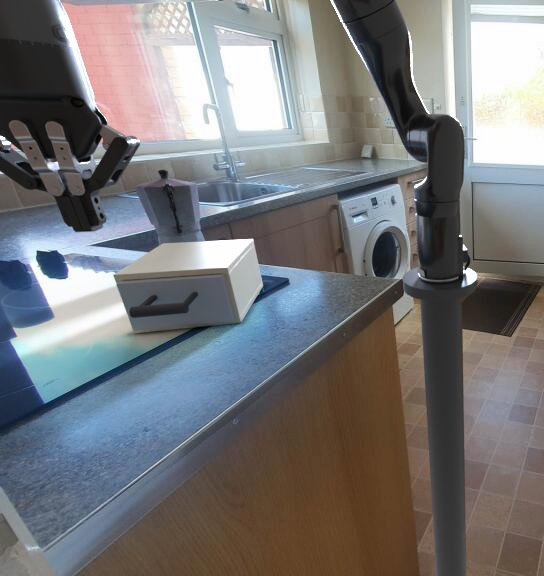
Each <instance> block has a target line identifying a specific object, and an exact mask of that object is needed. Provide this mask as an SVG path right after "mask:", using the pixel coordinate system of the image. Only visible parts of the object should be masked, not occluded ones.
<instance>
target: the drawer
mask: <svg viewBox="0 0 544 576" xmlns="http://www.w3.org/2000/svg"><path fill="white" fill-rule="evenodd" d="M115 285H116V288H117V290H118V293H119V296H120V298H121V301H122V304H123V307H124V309H125V313H126V315H127V317H128V321H129V323H130V326H131V328H132V331H133V332H134V331H137V330H148V329H158V328H168V327H178V326H188V325H198V324H208V323H218V322H228V321H233V320H234V319H235V315H234V311H233V307H232V303H231V299H230V295H229V292H228V288H227V284H226V280H225V276H224V274H222V273H221V274H206V275H192V276H177V277H163V278H148V279H133V280H128V281H120V282H118V283H117V284H116V283H115Z"/></svg>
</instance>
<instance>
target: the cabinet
mask: <svg viewBox="0 0 544 576" xmlns="http://www.w3.org/2000/svg"><path fill="white" fill-rule="evenodd" d="M221 273H222V274H224V276H225V280H226V284H227V288H228V292H229V295H230V299H231V303H232V307H233V311H234V315H235V319H234V320H233V321H228V322H218V323H208V324H198V325H188V326H178V327H168V328H158V329H148V330H137V331H133V333H134V334H140V333H141V334H142V333H152V332H161V331H162V332H163V331H171V330H180V329H190V328H200V327H201V328H202V327H210V326H220V325H229V324H230V325H232V324H241V323H242V322H243V320H244V319H245V317H246V315H247V314H248V312H249V310H250V309H251V307H252V305H253V304H254V302H255V300H256V298H257V297H258V295H259V294H260V292H261V290H262V289H263V287H264V282H263V279H262V272H261V269H260V265H259V260H258V256H257V250H256V245H255V242H254V239H253V238H248V239H247V238H246V239H229V240H228V239H227V240H207V241H206V240H205V241H203V242H182V243H163V244H161V245H160V246H159V245H157V246H156V247H155V248H152V250H150V251H149V252H147V253H145V254H144V255H142V256H141V257H139V258H137V259H136V260H134V261H133V262H131V263H130V264H128V265H126V266H125V267H123V268H122V269H120V270H118V271H117V272H115V273H114V274H113V275H112V276H113V278H114V281H115V285H116V284H117V283H118V282H120V281H128V280H133V279H148V278H163V277H177V276H192V275H206V274H221Z"/></svg>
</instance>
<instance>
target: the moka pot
mask: <svg viewBox="0 0 544 576" xmlns="http://www.w3.org/2000/svg"><path fill="white" fill-rule="evenodd" d="M157 173H158V175H159V176H160V177H159V178H158V179H155V180H151V181H146V182H143V183H139V184H136V185H134V186H133V187H134V190H135V192H136V195H137V197H138V199H139V201H140V203H141V205H142V207H143V211H144V212H145V214H146V216H147V218H148V220H149V222H150V225H152V226H154V229H155V233H156V234H157V241H158V246H160V245H161V244H163V243H182V242H203V241H206V239H205V236H204V235H203V232H202V231H201V223H200V221H201V219H202V217H201V210H200V209H201V208H200V207H201V206H200V197H199V188H198V184H197V183H196V182H191V181H186V180H180V179H173V178H169V170H166V169H159V170H158V171H157Z"/></svg>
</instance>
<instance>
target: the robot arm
mask: <svg viewBox="0 0 544 576" xmlns="http://www.w3.org/2000/svg"><path fill="white" fill-rule="evenodd" d="M330 2H331V4H332V6H333V7H334V9H335V11H336V13H337V15H338V18H339V20H340V22H341V23H342V25H343V27H344V29H345V31H346V33H347V35H348V37H349V38H350V41H351V42H352V44H353V47H354V48H355V50H356V51H357V53H358V54H359V56H360V58H361V60H362V61H363V63H364V65H365V67H366V69H367V71H368V73H369V76H370V77H371V79H372V81H373V83H374V84H375V86H376V88H377V90H378V92H379V94H380V96H381V98H382V100H383V101H384V104H385V106H386V109H387V110H388V112H389V116H390V117H391V120H392V122H393V125H394V127H395V130H396V132H397V134H398V136H399V139H400V141H401V143H402V146H403V147H404V149H405V150H406V152H407V153H408V155H409V156H410V157H411V158H412V159H414V160H415V161H417V162H420V163H424V164H426V165H427V167H426V168H427V169H426V177H425V178H424V179H422V180H421V181H418V182H417V183H416V184H414V187H413V196H414V197H413V198H414V215H415V216H414V217H415V229H416V230H415V231H416V248H417V264H418V265H417V267H416V268H417V271H418V275H419V279H420V280H421V281H423V282H426V283H430V284H447V283H452V282H455V281H458V280H463V279H464V277H463V270H465V271H466V270H467V268H469V266H470V265H471V256H470V255H469V250H468V248H467V247H466V246H465V245H464V237H463V236H462V234H461V233H462V231H461V230H462V229H461V192H462V188H463V186H464V185H463V184H464V179H465V157H466V156H465V155H466V149H465V148H466V142H465V140H466V139H465V133H464V130H463V127H462V125H461V123H460V121H459V120H458V119H457V118H456V117H455V116H454V115H451V114H446V113H430V112H429V111H428V110H427V108H426V106H425V104H424V102H423V100H422V98H421V96H420V94H419V92H418V90H417V87H416V84H415V81H414V75H413V53H412V52H413V51H412V40H411V33H410V31H409V27H408V25H407V22H406V19H405V16H404V14H403V13H402V10H401V8H400V5H399V3H398V0H330ZM101 141H102V143H101ZM100 143H101V145H102V148H103V149H104V150H105V152H104V154H103V156H102V158H101V159H100V161H99V162H98V164H97V165H96V160H95V156H94V153H95V152H96V150H97V149H98V146H99V145H100ZM12 145H13V146H14V147H15V148H16V149H18V150H19V151H21V152H22V153H23V154H24V155H25V156H23V155H22V154H20V153H19V152H18V151H16V150H15V149H13V148H12ZM140 146H141V141H140V140H139V138H138V137H136V136H134V135H126V134H124V133H122V132H120V131H119V130H117V129H115V128H114V127H112V126H110V125H109V122H108V119H107V118H106V116H105V115H104V114H103V113H102V112H101V111H100V110H99V108H98V106H97V105H96V102H95V94H94V91H93V88H92V85H91V82H90V79H89V77H88V73H87V71H86V67H85V64H84V61H83V57H82V55H81V52H80V49H79V46H78V43H77V40H76V37H75V34H74V29H73V27H72V25H71V22H70V19H69V16H68V14H67V12H66V10H65V7H64V5H63V3H62V1H61V0H0V173H2V174H3V175H5V176H6V177H7V178H9V179H11V180H12V181H13V182H15V183H17V185H19V186H21V187H22V188H24V189H26V190H28V191H34V190H37V191H42V192H46V193H48V194H50V195H52V197H53V198H54V200H55V202H56V205H57V207H58V210H59V212H60V215H61V217H62V220H63V222H64V223H65V225H66V226H67V227H68V228H70V227H71V229H72V230H73V231H74V232H75V233H85V232H86V233H89V232H92V233H93V232H94V233H95V232H97V231H99V230H101V229H103V227H104V224H106V223H107V215H106V213H105V209H104V206H103V204H102V201H101V198H100V195H99V193H100V191H101V190H103V189H107V188H108V187H112V186H115V185H117V184H118V182H119V180H120V179H121V177H122V176H123V174H124V173H125V170H126V169H127V166H129V164H130V162H131V160H132V159H133V157H134V156H135V155H136V152H137V151H138V149H139V147H140ZM464 264H465V265H464ZM463 267H464V269H463Z"/></svg>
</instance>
